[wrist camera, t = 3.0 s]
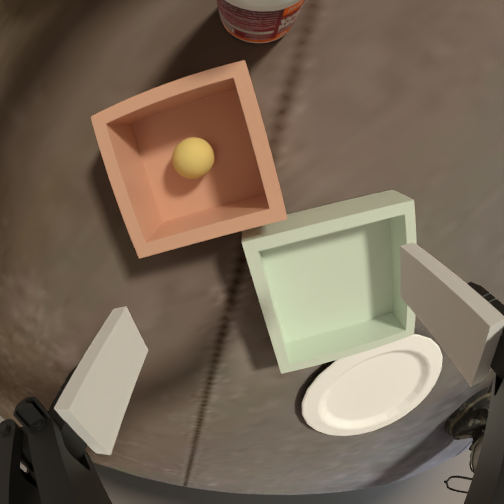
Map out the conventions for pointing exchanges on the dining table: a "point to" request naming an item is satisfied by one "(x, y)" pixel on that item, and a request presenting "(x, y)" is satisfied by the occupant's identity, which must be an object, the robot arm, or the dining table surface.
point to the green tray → (333, 278)
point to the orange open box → (170, 181)
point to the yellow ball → (193, 158)
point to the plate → (372, 387)
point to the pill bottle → (258, 18)
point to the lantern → (470, 425)
